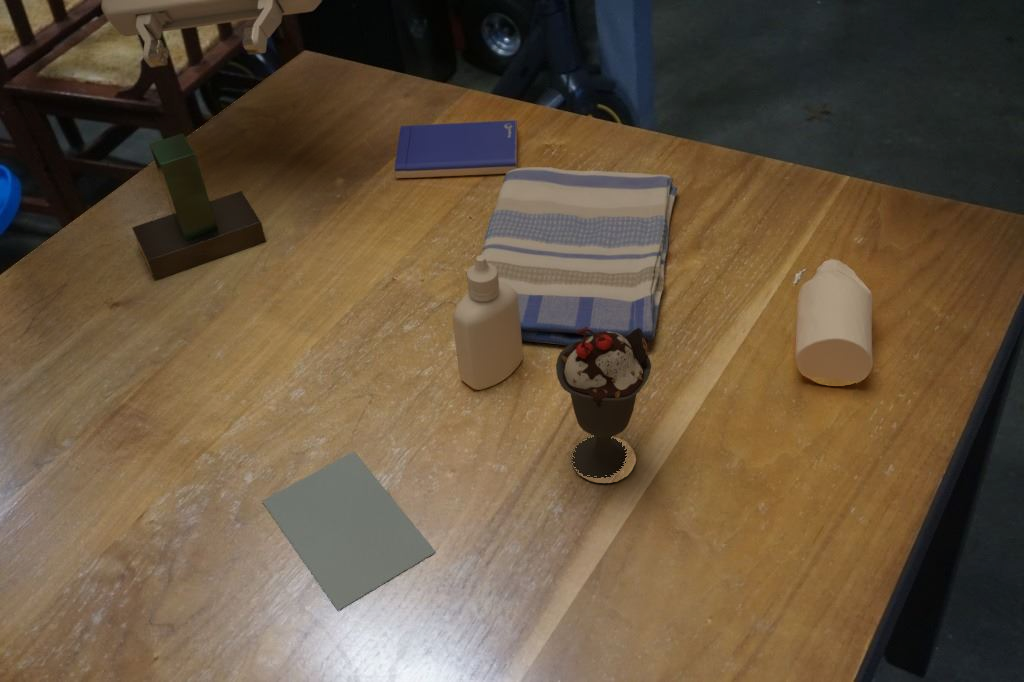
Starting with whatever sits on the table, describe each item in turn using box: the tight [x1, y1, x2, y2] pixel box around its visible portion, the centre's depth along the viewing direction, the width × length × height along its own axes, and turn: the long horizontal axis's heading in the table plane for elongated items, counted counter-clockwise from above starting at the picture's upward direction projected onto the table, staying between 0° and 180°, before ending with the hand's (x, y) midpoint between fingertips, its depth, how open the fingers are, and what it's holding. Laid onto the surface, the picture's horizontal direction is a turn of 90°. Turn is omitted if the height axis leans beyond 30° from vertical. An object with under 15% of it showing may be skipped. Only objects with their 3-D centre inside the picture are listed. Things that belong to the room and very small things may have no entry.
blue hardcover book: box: [394, 119, 518, 179], centre depth 115 cm, size 2×8×12 cm
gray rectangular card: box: [261, 450, 436, 612], centre depth 81 cm, size 12×8×1 cm, turn 35°
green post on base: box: [131, 133, 267, 281], centre depth 103 cm, size 11×6×11 cm, turn 118°
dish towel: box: [480, 166, 679, 346], centre depth 101 cm, size 17×24×3 cm
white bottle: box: [794, 258, 874, 383], centre depth 90 cm, size 6×12×6 cm, turn 168°
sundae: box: [555, 326, 652, 478], centre depth 79 cm, size 7×7×15 cm
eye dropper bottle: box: [452, 254, 524, 391], centre depth 88 cm, size 4×6×12 cm
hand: (203, 56), depth 97 cm, fingers open, 8 cm apart
